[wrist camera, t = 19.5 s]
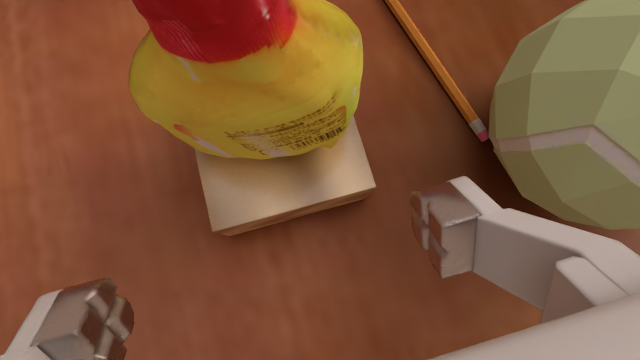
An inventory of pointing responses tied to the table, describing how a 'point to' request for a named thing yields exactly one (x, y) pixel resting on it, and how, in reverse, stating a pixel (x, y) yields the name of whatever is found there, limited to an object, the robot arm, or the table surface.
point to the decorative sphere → (575, 115)
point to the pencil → (439, 70)
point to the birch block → (283, 184)
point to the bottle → (248, 74)
